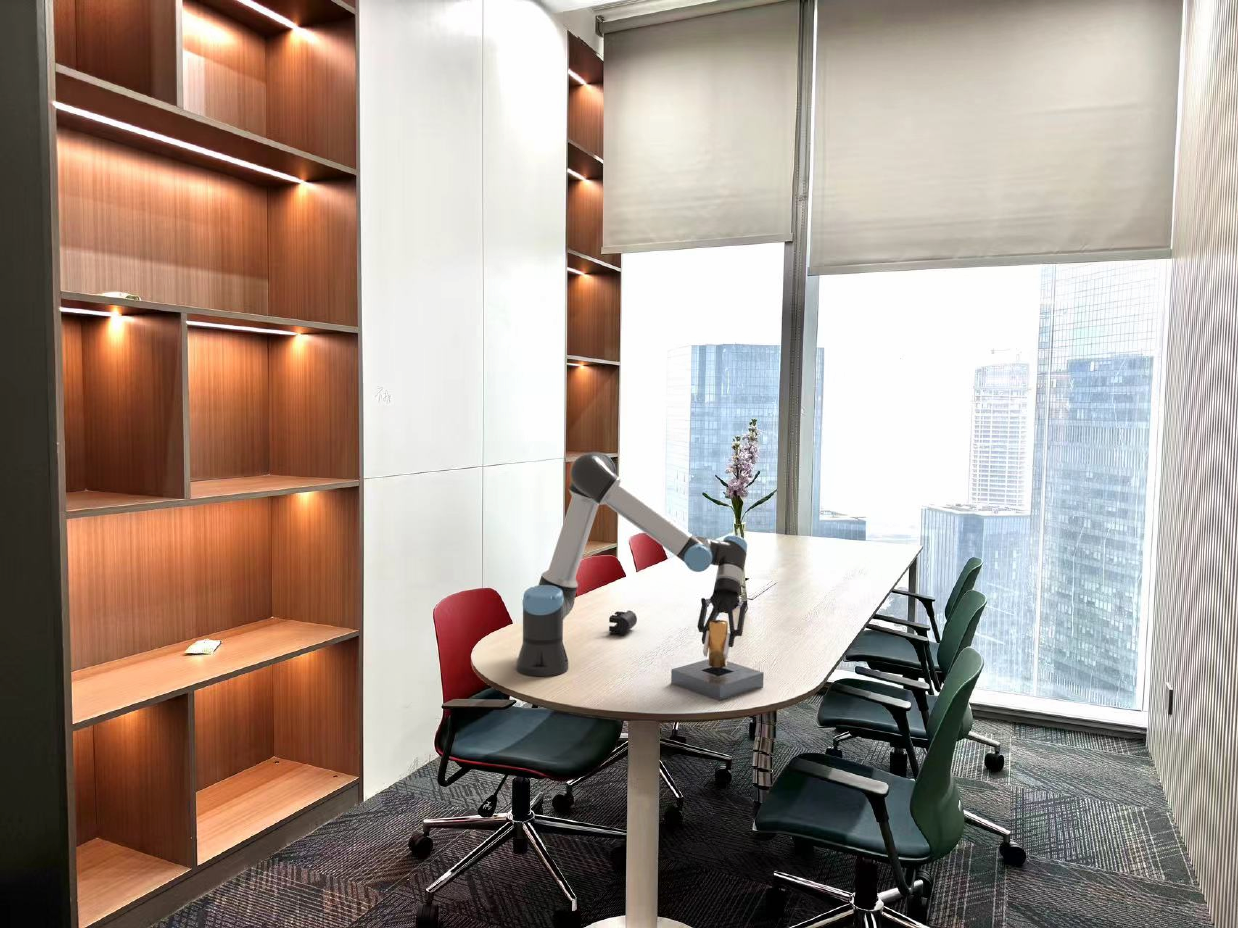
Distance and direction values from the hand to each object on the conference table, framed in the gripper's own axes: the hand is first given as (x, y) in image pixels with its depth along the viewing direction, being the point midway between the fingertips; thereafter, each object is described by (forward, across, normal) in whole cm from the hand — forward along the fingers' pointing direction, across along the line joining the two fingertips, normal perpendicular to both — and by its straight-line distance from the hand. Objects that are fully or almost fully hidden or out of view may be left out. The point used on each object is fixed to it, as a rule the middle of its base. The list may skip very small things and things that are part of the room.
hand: (715, 654), depth 227 cm
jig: (+4, 0, -9) cm, 10 cm away
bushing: (0, 0, -5) cm, 5 cm away
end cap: (-26, +41, -40) cm, 63 cm away
